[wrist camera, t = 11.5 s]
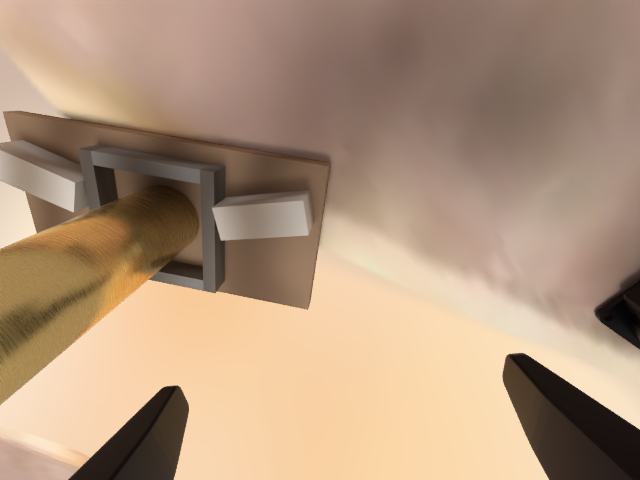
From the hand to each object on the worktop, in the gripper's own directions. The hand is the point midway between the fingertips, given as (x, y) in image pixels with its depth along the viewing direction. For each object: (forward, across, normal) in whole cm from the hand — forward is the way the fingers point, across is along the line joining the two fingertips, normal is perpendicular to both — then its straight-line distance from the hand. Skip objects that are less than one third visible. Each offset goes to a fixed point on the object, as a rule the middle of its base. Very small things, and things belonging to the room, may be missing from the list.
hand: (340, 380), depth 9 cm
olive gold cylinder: (+13, +10, -1) cm, 17 cm away
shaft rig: (+14, +10, -1) cm, 17 cm away
